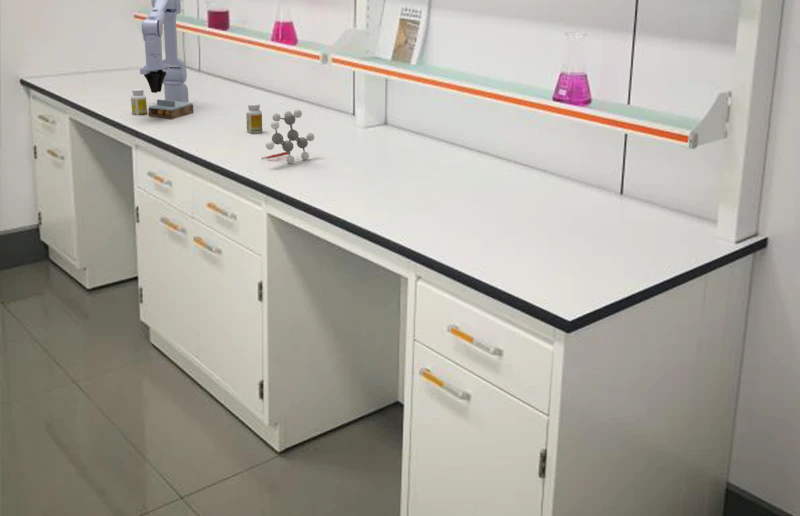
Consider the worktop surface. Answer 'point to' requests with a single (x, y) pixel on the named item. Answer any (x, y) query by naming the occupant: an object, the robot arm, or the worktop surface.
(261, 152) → the worktop surface
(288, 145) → the molecule model
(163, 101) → the lid
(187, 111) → the case
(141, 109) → the supplement bottle
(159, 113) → the ball
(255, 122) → the supplement bottle
